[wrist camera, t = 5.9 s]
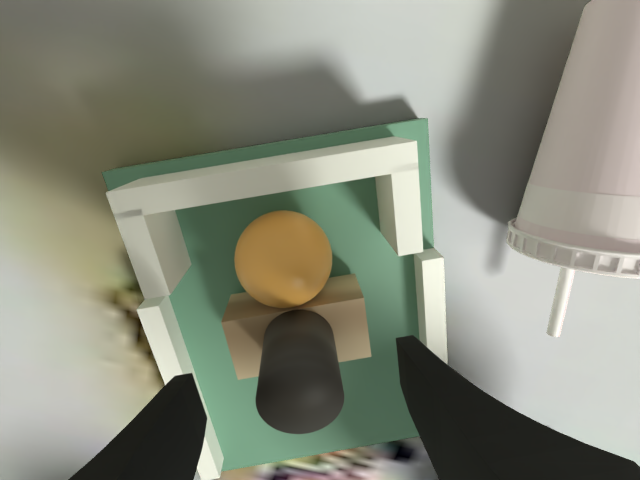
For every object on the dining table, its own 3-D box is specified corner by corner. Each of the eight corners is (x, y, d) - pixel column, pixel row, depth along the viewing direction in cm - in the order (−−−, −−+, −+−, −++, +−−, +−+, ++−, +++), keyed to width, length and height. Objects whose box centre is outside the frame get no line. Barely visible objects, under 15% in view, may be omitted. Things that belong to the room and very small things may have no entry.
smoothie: (508, 10, 14) (462, 323, 18) (745, -69, 9) (607, 405, 13) (595, 34, 17) (539, 300, 21) (816, -15, 11) (685, 358, 15)
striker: (361, 326, 18) (391, 418, 12) (245, 346, 18) (223, 448, 12) (354, 273, 17) (383, 348, 11) (230, 294, 17) (200, 380, 11)
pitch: (434, 416, 22) (465, 480, 18) (215, 454, 22) (198, 529, 18) (418, 118, 16) (458, 119, 12) (115, 168, 16) (56, 185, 12)
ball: (343, 306, 13) (324, 195, 13) (232, 325, 12) (214, 214, 13) (337, 293, 17) (322, 209, 17) (252, 307, 16) (239, 223, 17)
